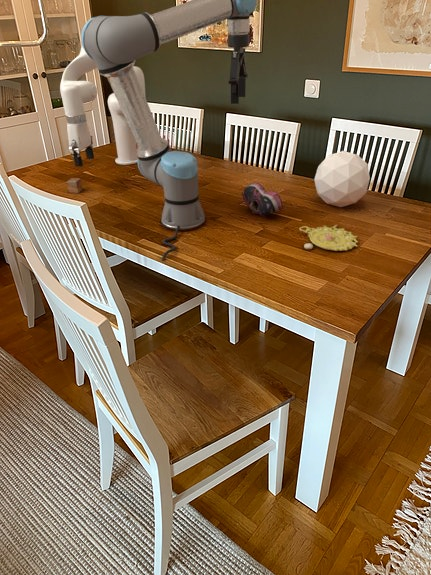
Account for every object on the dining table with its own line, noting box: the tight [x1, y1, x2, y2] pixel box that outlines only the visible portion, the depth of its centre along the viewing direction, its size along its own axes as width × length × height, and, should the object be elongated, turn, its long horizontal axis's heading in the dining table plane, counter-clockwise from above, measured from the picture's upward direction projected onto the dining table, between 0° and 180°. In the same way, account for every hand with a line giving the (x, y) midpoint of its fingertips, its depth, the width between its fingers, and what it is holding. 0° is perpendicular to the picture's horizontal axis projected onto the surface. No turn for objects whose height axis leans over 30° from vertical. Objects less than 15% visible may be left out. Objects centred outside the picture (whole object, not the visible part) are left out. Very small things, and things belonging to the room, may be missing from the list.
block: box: [66, 177, 84, 194], centre depth 184 cm, size 4×4×5 cm
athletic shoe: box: [238, 182, 284, 217], centre depth 160 cm, size 11×22×12 cm
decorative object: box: [299, 224, 359, 252], centre depth 141 cm, size 21×2×20 cm
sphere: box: [313, 150, 371, 208], centre depth 161 cm, size 19×20×20 cm
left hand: (85, 162), depth 183 cm, fingers open, 9 cm apart
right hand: (238, 100), depth 163 cm, fingers open, 13 cm apart
